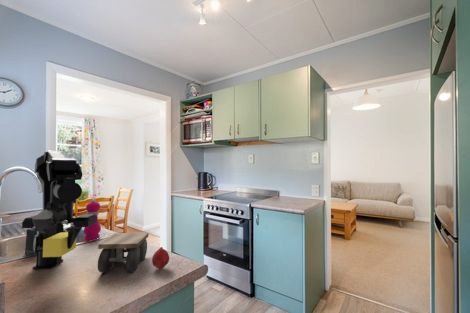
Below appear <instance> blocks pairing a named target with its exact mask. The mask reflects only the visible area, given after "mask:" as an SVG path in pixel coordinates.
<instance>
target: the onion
mask: <svg viewBox="0 0 470 313" xmlns="http://www.w3.org/2000/svg"><path fill="white" fill-rule="evenodd" d="M151 262H152V265H153V267H155V268H156V269H158V270H159V271H161V270H163V269H164V268H165V267H166V266H167V265H168V263H169V262H170V255H169V252H168V251H167V250H166V249H164V248H163V246H161V247H159V249H157V250H156V251H155V252H154V254H153V256H152V257H151Z"/></svg>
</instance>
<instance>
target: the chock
mask: <svg viewBox="0 0 470 313" xmlns="http://www.w3.org/2000/svg"><path fill="white" fill-rule="evenodd" d="M67 243H68V232H67V231H65V232H62V233H58V234H56V235H54V236H51V237H49V238H47V239H44V240H43V257H61V256H62V257H63V256H64V255H66V254H68V253H69V252H71V251H73V250H74V249H76V248H77V238H76V239H75V241H74V243H73V245H72V247H71V248H70V249H68V246H67Z"/></svg>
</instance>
